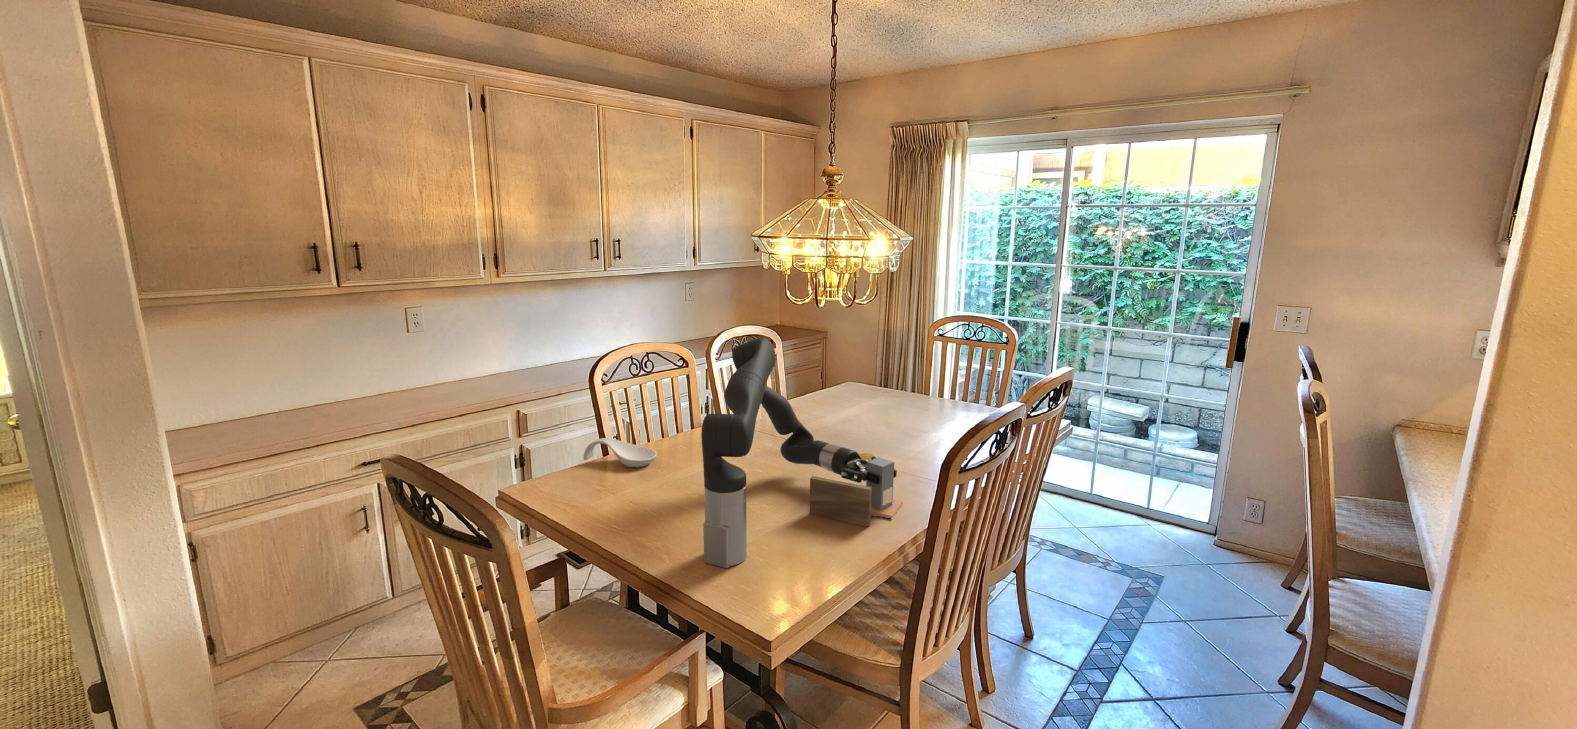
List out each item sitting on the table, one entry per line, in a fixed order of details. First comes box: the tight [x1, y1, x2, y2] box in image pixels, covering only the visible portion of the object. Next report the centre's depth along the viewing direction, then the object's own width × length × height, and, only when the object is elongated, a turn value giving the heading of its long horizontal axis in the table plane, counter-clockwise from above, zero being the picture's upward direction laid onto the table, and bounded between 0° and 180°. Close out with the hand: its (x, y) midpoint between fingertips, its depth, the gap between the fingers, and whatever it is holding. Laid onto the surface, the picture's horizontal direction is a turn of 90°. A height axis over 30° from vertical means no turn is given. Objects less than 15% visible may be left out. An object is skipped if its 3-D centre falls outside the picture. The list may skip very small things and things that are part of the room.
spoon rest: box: [582, 437, 658, 468], centre depth 201 cm, size 24×12×7 cm, turn 76°
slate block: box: [865, 456, 895, 510], centre depth 169 cm, size 5×5×12 cm
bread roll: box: [858, 452, 876, 460], centre depth 200 cm, size 8×9×4 cm
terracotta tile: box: [871, 499, 904, 519], centre depth 170 cm, size 10×10×1 cm
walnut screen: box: [808, 475, 872, 528], centre depth 163 cm, size 2×16×10 cm, turn 64°
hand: (887, 477), depth 167 cm, fingers open, 6 cm apart
